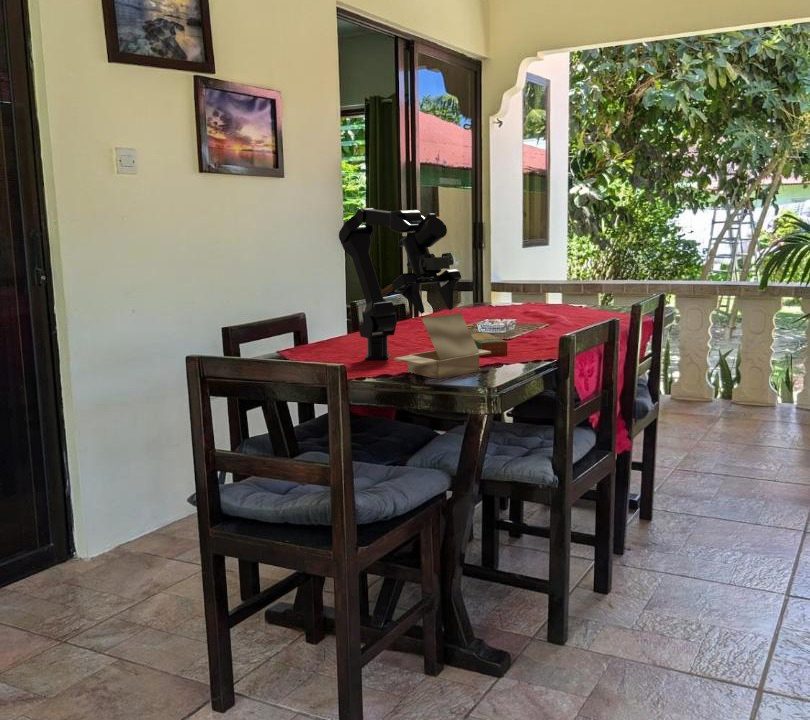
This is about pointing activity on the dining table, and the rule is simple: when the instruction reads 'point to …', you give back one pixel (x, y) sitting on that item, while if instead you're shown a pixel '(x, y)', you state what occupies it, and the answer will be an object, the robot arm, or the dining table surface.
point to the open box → (441, 364)
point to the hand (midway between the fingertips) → (437, 311)
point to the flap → (450, 336)
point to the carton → (490, 343)
